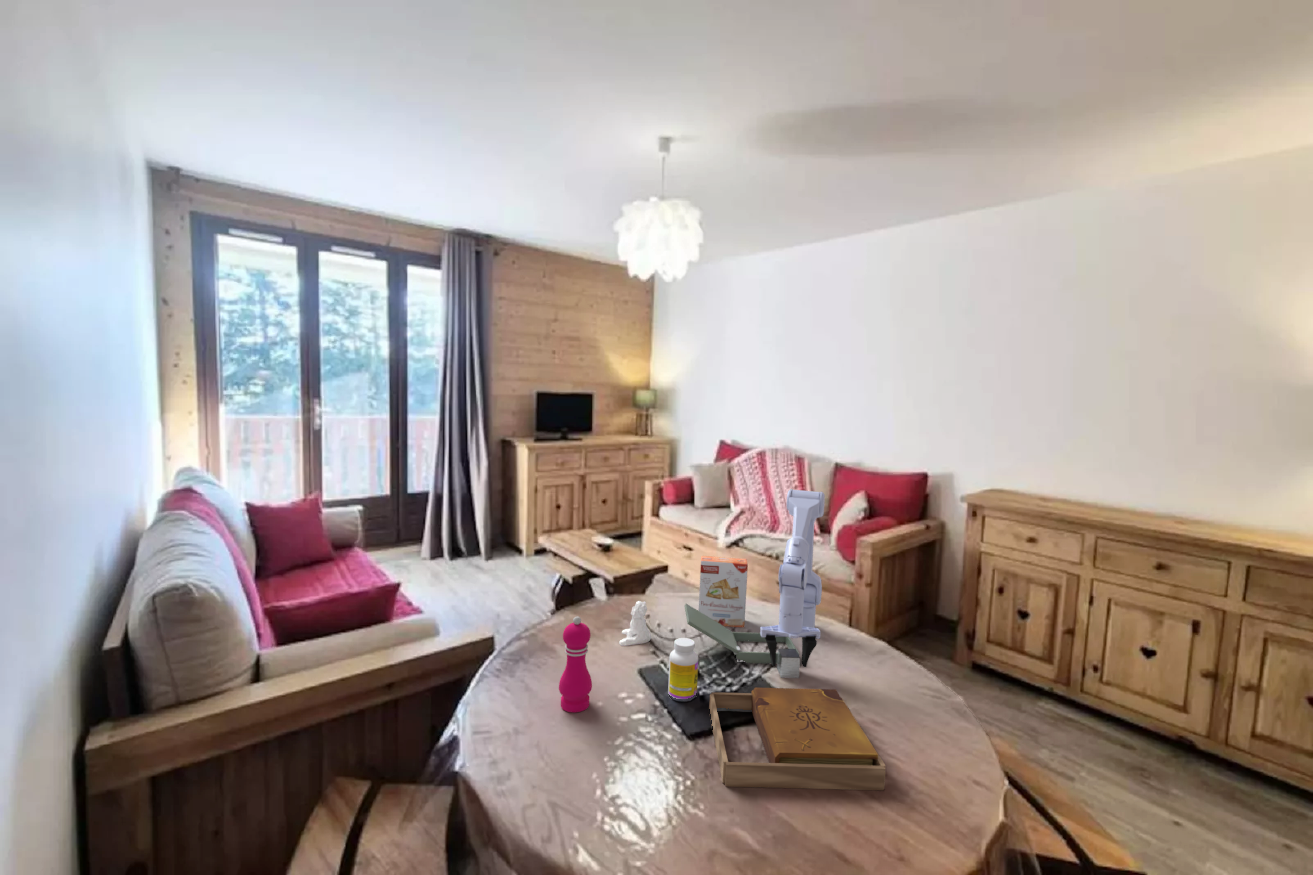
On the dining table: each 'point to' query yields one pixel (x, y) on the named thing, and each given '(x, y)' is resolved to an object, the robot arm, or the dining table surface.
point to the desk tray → (786, 772)
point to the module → (788, 663)
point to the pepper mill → (575, 668)
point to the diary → (809, 727)
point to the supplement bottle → (683, 669)
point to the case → (731, 636)
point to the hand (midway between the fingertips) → (788, 664)
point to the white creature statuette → (637, 626)
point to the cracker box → (723, 590)
